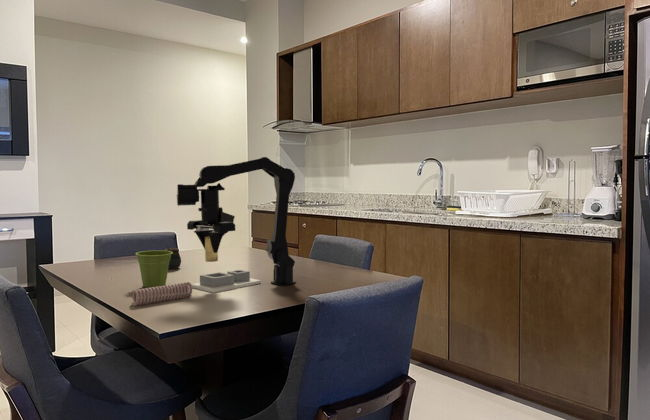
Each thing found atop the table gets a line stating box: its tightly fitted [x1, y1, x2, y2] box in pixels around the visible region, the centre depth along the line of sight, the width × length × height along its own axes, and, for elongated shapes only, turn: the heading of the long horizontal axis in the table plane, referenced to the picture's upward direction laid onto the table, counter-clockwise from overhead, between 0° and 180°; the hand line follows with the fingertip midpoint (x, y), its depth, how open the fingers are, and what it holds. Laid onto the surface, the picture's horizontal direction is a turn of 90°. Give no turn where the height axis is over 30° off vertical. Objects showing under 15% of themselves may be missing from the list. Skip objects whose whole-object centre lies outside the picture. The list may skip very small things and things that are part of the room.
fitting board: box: [191, 269, 262, 294], centre depth 165 cm, size 12×20×4 cm, turn 138°
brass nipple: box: [204, 236, 219, 263], centre depth 160 cm, size 4×4×8 cm
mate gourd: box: [164, 245, 182, 270], centre depth 198 cm, size 7×8×10 cm
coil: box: [130, 281, 193, 307], centre depth 143 cm, size 5×5×18 cm
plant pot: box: [135, 249, 173, 289], centre depth 164 cm, size 12×12×11 cm
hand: (211, 252), depth 160 cm, fingers closed on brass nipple, 4 cm apart
